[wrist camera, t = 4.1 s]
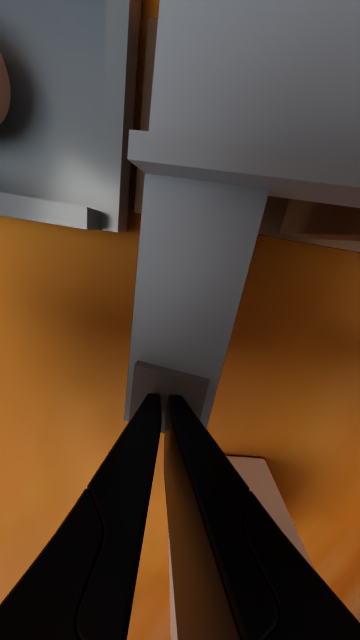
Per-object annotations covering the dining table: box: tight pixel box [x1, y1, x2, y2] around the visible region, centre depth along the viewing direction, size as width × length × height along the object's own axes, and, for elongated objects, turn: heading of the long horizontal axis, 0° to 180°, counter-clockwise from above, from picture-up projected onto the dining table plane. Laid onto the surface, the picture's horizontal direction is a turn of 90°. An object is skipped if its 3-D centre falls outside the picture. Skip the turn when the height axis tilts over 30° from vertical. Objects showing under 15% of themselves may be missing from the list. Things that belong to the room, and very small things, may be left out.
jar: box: [168, 456, 314, 640], centre depth 12 cm, size 9×8×12 cm
